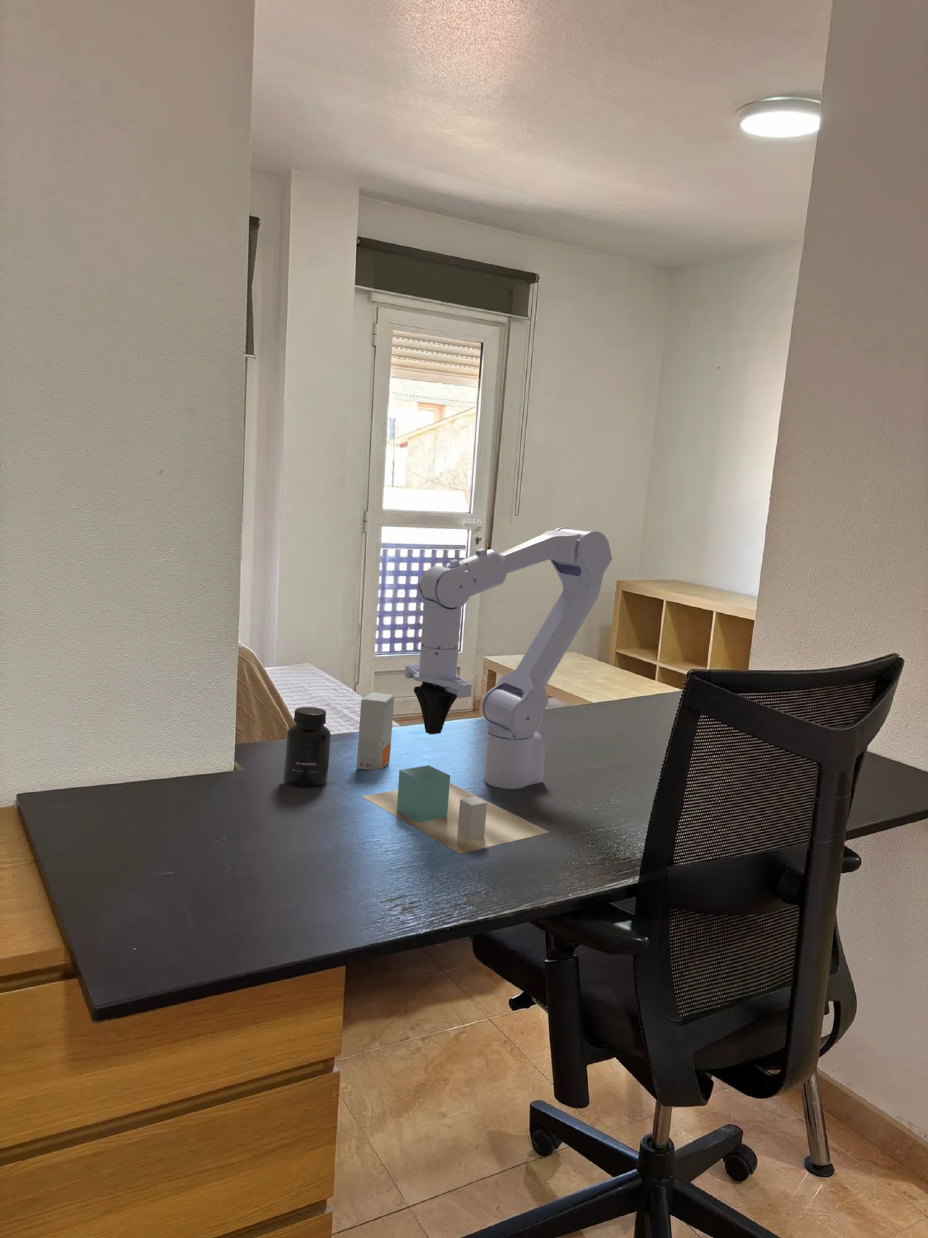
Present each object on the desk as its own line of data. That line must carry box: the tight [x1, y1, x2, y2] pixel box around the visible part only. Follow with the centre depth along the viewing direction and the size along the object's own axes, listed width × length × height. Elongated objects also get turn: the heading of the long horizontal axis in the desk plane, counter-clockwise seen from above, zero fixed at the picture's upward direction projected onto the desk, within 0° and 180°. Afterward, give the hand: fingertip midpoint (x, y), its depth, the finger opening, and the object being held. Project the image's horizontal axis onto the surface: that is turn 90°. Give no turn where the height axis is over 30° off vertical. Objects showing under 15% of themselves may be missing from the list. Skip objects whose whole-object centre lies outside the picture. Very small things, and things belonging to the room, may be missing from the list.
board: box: [361, 782, 550, 855], centre depth 132 cm, size 16×24×1 cm, turn 38°
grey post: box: [457, 797, 487, 841], centre depth 123 cm, size 3×3×5 cm
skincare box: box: [356, 691, 395, 771], centre depth 153 cm, size 6×4×12 cm
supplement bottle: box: [283, 706, 332, 789], centre depth 140 cm, size 7×7×12 cm
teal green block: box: [397, 764, 451, 823], centre depth 130 cm, size 5×5×6 cm
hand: (433, 733), depth 140 cm, fingers closed
